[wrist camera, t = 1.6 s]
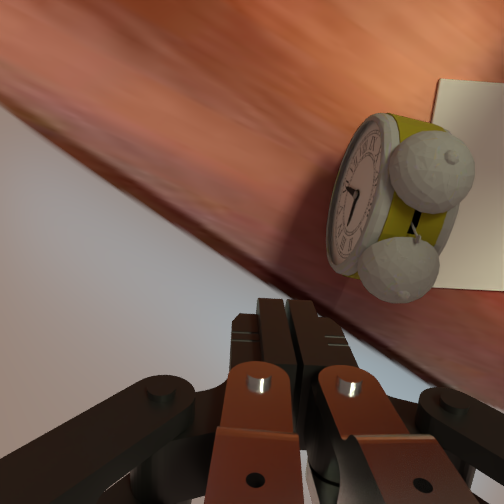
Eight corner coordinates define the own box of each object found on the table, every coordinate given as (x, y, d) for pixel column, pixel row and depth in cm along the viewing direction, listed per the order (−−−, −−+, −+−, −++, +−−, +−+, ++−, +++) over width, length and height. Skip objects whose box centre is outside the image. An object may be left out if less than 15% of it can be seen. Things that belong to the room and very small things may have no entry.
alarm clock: (349, 107, 37) (418, 112, 23) (427, 126, 38) (540, 143, 24) (312, 240, 41) (352, 315, 27) (384, 255, 41) (460, 336, 27)
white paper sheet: (617, 91, 37) (620, 92, 37) (556, 292, 43) (558, 294, 43) (439, 78, 37) (440, 78, 36) (401, 284, 42) (402, 285, 42)
